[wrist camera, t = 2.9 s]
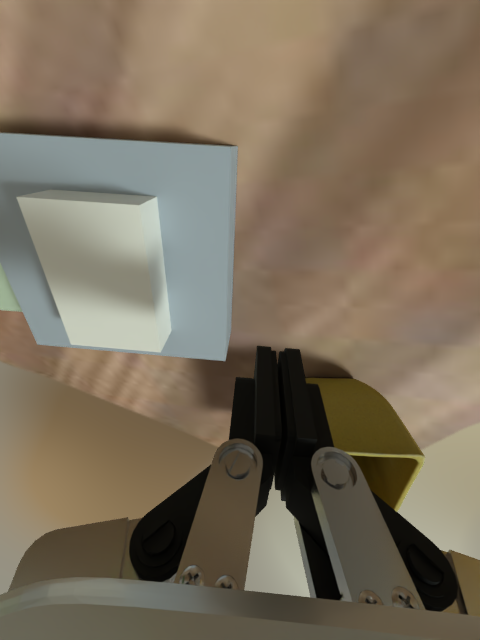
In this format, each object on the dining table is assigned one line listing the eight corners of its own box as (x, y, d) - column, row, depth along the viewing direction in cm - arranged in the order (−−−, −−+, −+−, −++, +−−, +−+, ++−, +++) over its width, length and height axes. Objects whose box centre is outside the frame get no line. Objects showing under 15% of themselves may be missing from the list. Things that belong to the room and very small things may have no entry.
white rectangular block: (50, 189, 15) (16, 196, 13) (156, 196, 15) (139, 205, 13) (91, 323, 20) (71, 344, 18) (171, 330, 20) (160, 352, 18)
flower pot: (281, 420, 31) (287, 510, 23) (283, 362, 26) (291, 451, 18) (362, 422, 30) (395, 517, 22) (379, 362, 25) (429, 456, 18)
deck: (2, 131, 17) (-61, 129, 14) (237, 146, 17) (231, 146, 13) (68, 317, 25) (37, 344, 22) (230, 331, 24) (225, 361, 21)
